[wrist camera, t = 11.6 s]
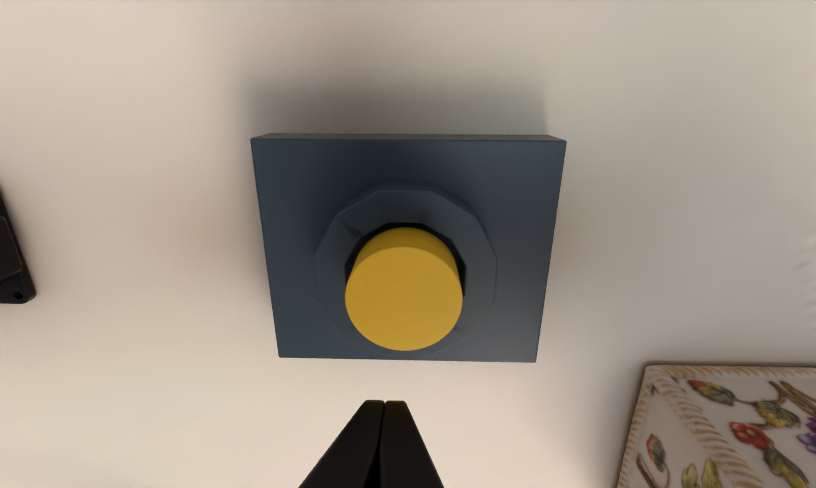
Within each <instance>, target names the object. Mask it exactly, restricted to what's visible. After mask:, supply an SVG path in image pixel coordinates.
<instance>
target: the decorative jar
mask: <svg viewBox="0 0 816 488" xmlns="http://www.w3.org/2000/svg"><path fill="white" fill-rule="evenodd" d="M617 488H816V368H810V367H756V366H748V367H747V366H686V365H651V366H647V367H646V369H645V374H644V377H643V383H642V386H641V391H640V394H639V398H638V401H637V404H636V408H635V412H634V415H633V420H632V423H631V428H630V432H629V437H628V440H627V444H626V449H625V453H624V458H623V463H622V468H621V472H620V477H619V481H618V485H617Z"/></svg>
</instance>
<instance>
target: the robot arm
mask: <svg viewBox="0 0 816 488" xmlns="http://www.w3.org/2000/svg"><path fill="white" fill-rule="evenodd" d="M35 295H36V293H35V289H34V286H33V283H32V281H31V278H30V275H29V272H28V270H27V267H26V264H25V261H24V259H23V256H22V253H21V250H20V248H19V245H18V242H17V239H16V237H15V234H14V231H13V228H12V226H11V223H10V220H9V217H8V215H7V212H6V209H5V206H4V204H3V201H2V198H1V195H0V303H7V304H23V303H26V302H28V301H30V300H32V299H33V298H35ZM299 488H444V486H443V484H442V482H441V480H440V477H439V475H438V473H437V471H436V468H435V466H434V464H433V462H432V460H431V457H430V455H429V453H428V451H427V448H426V446H425V444H424V442H423V440H422V437H421V435H420V433H419V431H418V429H417V426H416V424H415V422H414V420H413V417H412V415H411V413H410V411H409V409H408V406H407V404H406V403H405V402H404V401H387V402H386V403H385V402H384V401H382V400H366V401H365V402H364V403H363V404H362V405H361V407H360V408H359V409H358V410H357V412H356V413H355V414H354V416H353V417H352V418H351V420H350V421H349V422H348V424H347V425H346V426H345V428H344V429H343V430H342V431H341V433H340V434H339V435H338V437H337V438H336V439H335V441H334V442H333V443H332V445H331V446H330V447H329V448H328V450H327V451H326V452H325V454H324V455H323V456H322V458H321V459H320V460H319V462H318V463H317V464H316V465H315V467H314V468H313V469H312V471H311V472H310V473H309V475H308V476H307V477H306V479H305V480H304V481H303V482H302V484H301V485H300V486H299Z"/></svg>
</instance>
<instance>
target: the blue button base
mask: <svg viewBox="0 0 816 488" xmlns="http://www.w3.org/2000/svg"><path fill="white" fill-rule="evenodd" d="M250 142H251V149H252V157H253V164H254V172H255V180H256V187H257V195H258V202H259V210H260V218H261V225H262V233H263V240H264V248H265V256H266V263H267V271H268V279H269V286H270V294H271V301H272V309H273V317H274V324H275V332H276V339H277V347H278V355H279V357H280V358H331V359H381V360H431V361H481V362H532V363H535V362H536V357H537V350H538V343H539V336H540V328H541V321H542V314H543V307H544V300H545V293H546V286H547V279H548V271H549V264H550V257H551V250H552V243H553V236H554V229H555V222H556V214H557V207H558V200H559V193H560V186H561V179H562V172H563V165H564V157H565V150H566V143H567V142H566V141H565V140H562V139H559V138H556V137H552V136H549V135H437V134H283V133H271V134H267V135H263V136H259V137H255V138H251V140H250ZM399 227H410V228H417V229H421V230H424V231H427V232H429V233H431V234H433V235H434V236H436V237H437V238H439V239H440V240H441V241H442V242H443V243H444V244H445V245H446V246H447V247H448V249H449V250H450V252H451V253H452V255H453V257H454V260H455V263H456V266H457V271H458V275H459V280H460V284H461V289H462V300H463V302H462V309H461V313H460V316H459V318H458V320H457V322H456V324H455V325H454V327H453V328H452V329H451V331H450V332H449V333H448V334H447V335H446V336H445V337H443V338H442V339H441V340H439V341H438V342H436V343H434V344H432V345H430V346H427V347H425V348H421V349H417V350H408V351H401V350H393V349H388V348H385V347H382V346H379V345H377V344H375V343H373V342H372V341H370V340H368V339H367V338H366V337H364V336H363V335H362V334H361V333H360V332H359V331H358V330H357V328H356V327H355V326H354V324H353V323H352V321H351V319H350V317H349V315H348V312H347V309H346V304H345V291H346V285H347V282H348V279H349V277H350V274H351V272H352V269H353V266H354V264H355V261H356V259H357V256H358V254H359V252H360V251H361V249H362V248H363V246H364V245H365V244H366V243H367V242H368V241H369V240H370V239H371V238H373V237H374V236H376V235H377V234H379V233H381V232H383V231H386V230H389V229H393V228H399Z"/></svg>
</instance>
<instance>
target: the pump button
mask: <svg viewBox="0 0 816 488" xmlns="http://www.w3.org/2000/svg"><path fill="white" fill-rule="evenodd" d="M462 302H463V300H462V289H461V284H460V280H459V275H458V271H457V266H456V263H455V260H454V257H453V255H452V253H451V252H450V250H449V249H448V247H447V246H446V245H445V244H444V243H443V242H442V241H441V240H440V239H439V238H437V237H436V236H434V235H433V234H431V233H429V232H427V231H424V230H421V229H417V228H410V227H399V228H393V229H389V230H386V231H383V232H381V233H379V234H377V235H376V236H374V237H373V238H371V239H370V240H369V241H368V242H367V243H366V244H365V245H364V246H363V248H362V249H361V251H360V252H359V254H358V256H357V259H356V261H355V264H354V266H353V269H352V272H351V274H350V277H349V279H348V282H347V285H346V291H345V304H346V309H347V312H348V315H349V317H350V319H351V321H352V323H353V324H354V326H355V327H356V328H357V330H358V331H359V332H360V333H361V334H362V335H363V336H364V337H366V338H367V339H368V340H370V341H372V342H373V343H375V344H377V345H379V346H382V347H385V348H388V349H393V350H401V351H408V350H417V349H421V348H425V347H427V346H430V345H432V344H434V343H436V342H438V341H439V340H441V339H442V338H443V337H445V336H446V335H447V334H448V333H449V332H450V331H451V329H452V328H453V327H454V325H455V324H456V322H457V320H458V318H459V316H460V313H461V309H462Z"/></svg>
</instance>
